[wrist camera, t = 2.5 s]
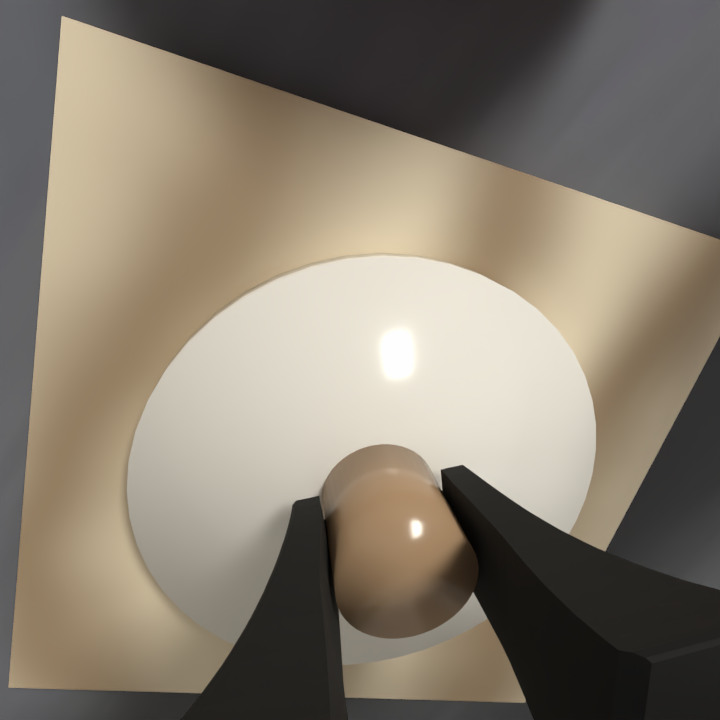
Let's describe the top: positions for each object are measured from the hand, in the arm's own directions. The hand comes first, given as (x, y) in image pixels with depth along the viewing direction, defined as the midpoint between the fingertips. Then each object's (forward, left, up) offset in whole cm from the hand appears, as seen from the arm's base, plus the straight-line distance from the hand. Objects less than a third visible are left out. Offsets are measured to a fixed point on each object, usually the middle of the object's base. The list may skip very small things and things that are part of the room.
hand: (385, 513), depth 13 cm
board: (0, 0, -3) cm, 3 cm away
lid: (0, 0, -2) cm, 2 cm away
